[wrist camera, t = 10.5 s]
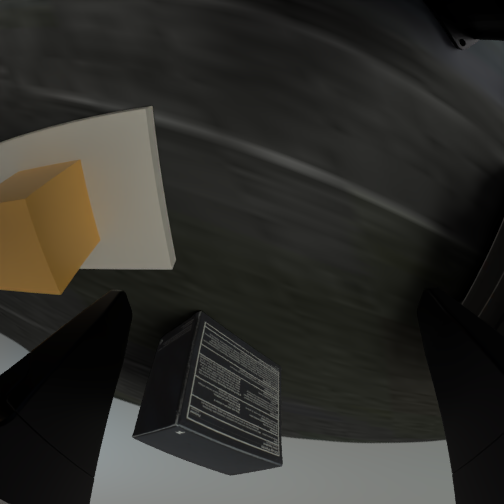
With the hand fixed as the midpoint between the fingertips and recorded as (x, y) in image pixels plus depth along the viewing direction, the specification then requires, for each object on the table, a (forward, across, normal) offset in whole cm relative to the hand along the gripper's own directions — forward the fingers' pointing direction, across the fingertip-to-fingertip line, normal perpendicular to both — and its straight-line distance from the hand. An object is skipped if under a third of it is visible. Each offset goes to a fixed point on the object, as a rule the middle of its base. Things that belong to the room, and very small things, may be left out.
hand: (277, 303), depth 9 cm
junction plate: (+12, +15, +1) cm, 19 cm away
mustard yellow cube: (+11, +15, +1) cm, 18 cm away
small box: (+12, +5, +17) cm, 22 cm away
